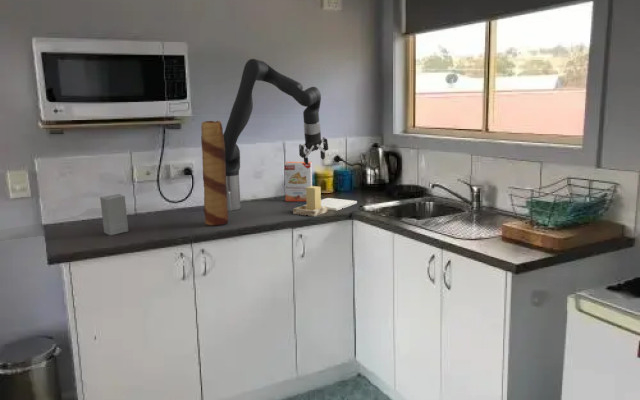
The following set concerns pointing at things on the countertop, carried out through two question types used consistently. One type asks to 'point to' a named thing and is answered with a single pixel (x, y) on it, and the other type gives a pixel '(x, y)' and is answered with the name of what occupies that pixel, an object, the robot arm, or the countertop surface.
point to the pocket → (309, 211)
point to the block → (313, 197)
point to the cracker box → (297, 180)
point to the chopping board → (336, 203)
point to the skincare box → (114, 214)
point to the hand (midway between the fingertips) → (314, 161)
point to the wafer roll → (214, 173)
